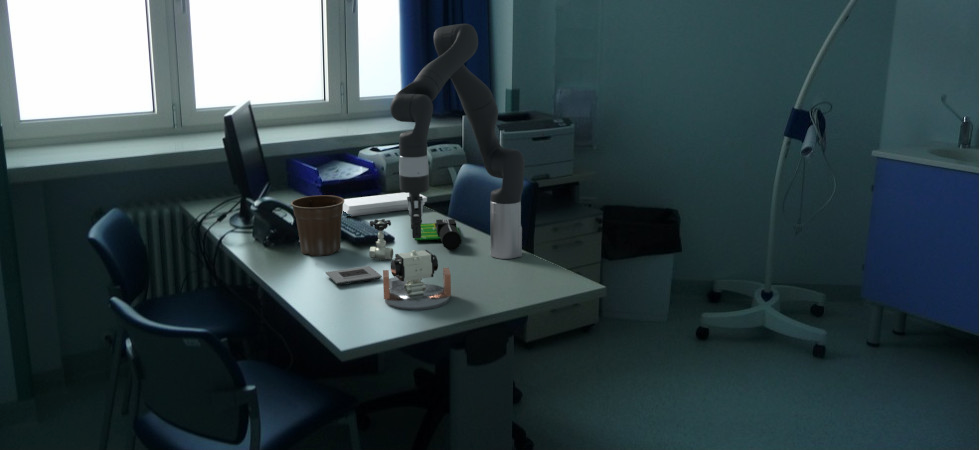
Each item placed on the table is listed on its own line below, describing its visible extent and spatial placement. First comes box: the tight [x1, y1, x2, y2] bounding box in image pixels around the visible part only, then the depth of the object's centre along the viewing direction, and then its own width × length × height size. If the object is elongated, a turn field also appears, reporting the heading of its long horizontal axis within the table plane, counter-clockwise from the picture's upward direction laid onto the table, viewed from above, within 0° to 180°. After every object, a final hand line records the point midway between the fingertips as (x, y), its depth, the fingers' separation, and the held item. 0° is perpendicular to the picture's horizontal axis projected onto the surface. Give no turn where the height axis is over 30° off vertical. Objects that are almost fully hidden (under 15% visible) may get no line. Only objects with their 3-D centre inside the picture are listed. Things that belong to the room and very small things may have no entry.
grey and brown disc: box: [382, 267, 452, 312], centre depth 236 cm, size 18×17×8 cm
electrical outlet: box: [325, 265, 383, 286], centre depth 253 cm, size 13×10×2 cm
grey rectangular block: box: [389, 276, 406, 290], centre depth 247 cm, size 5×2×2 cm, turn 131°
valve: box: [368, 218, 394, 261], centre depth 270 cm, size 7×7×12 cm
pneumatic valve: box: [390, 249, 439, 296], centre depth 235 cm, size 6×12×12 cm, turn 115°
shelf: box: [343, 192, 428, 217], centre depth 329 cm, size 12×30×5 cm, turn 118°
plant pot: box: [290, 194, 345, 257], centre depth 279 cm, size 16×16×16 cm
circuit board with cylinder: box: [414, 218, 462, 251], centre depth 292 cm, size 30×7×15 cm
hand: (416, 233), depth 232 cm, fingers open, 8 cm apart
